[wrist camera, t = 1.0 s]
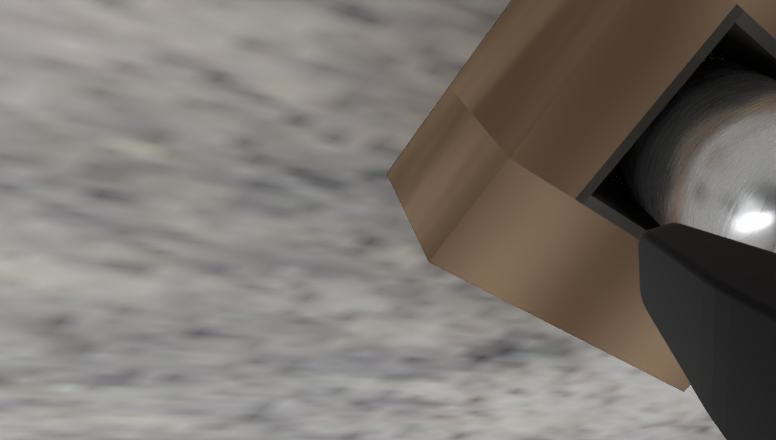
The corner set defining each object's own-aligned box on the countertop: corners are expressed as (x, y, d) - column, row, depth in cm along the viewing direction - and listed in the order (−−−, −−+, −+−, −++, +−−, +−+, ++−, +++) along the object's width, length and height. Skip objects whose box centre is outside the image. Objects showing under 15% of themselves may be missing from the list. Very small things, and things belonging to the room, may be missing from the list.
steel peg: (804, 114, 20) (955, 194, 16) (691, 238, 21) (803, 342, 17) (703, 26, 18) (846, 92, 14) (585, 169, 19) (685, 268, 15)
